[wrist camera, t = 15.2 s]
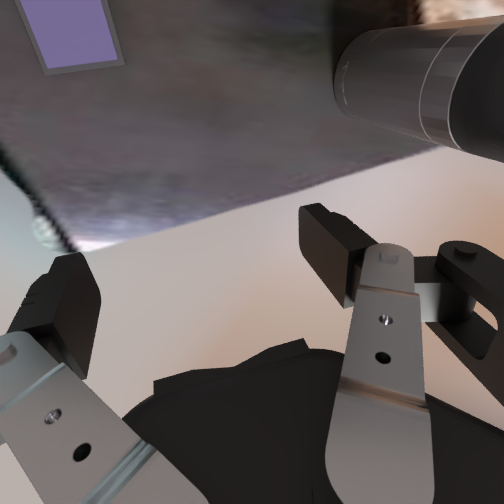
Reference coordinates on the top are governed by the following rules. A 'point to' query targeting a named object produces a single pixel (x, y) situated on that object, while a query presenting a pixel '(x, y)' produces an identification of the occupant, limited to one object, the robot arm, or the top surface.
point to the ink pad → (71, 34)
